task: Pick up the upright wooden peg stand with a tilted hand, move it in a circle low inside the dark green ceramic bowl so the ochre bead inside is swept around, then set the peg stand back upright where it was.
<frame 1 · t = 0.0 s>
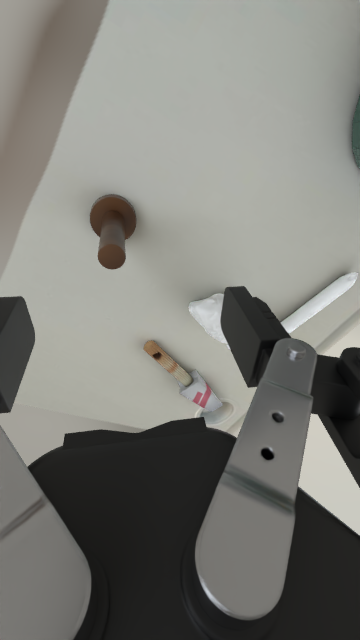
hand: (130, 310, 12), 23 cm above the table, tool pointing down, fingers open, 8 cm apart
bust: (221, 307, 42), on the table
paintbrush: (184, 373, 49), on the table
marker: (300, 308, 44), on the table
wooden peg stand: (113, 217, 32), on the table
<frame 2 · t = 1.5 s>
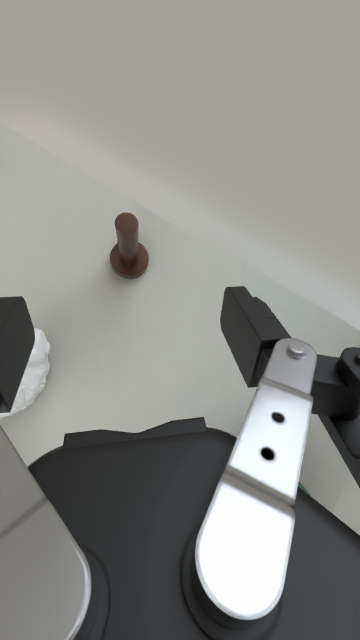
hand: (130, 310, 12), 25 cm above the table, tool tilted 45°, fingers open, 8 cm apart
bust: (23, 378, 34), on the table
wooden peg stand: (129, 260, 38), on the table
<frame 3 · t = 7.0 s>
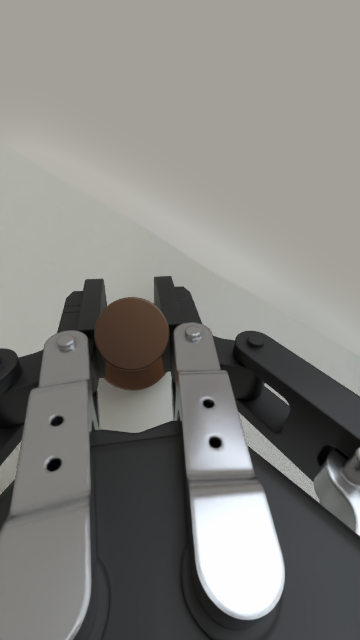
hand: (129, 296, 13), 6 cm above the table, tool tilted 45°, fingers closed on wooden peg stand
wooden peg stand: (134, 351, 19), on the table, touching gripper
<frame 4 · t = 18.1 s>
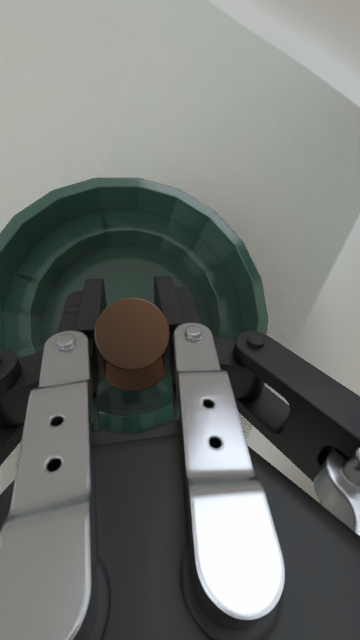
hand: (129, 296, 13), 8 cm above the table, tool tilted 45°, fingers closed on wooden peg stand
wooden peg stand: (135, 351, 19), point 1 cm above the table, touching bead, gripper
bowl: (130, 325, 20), on the table
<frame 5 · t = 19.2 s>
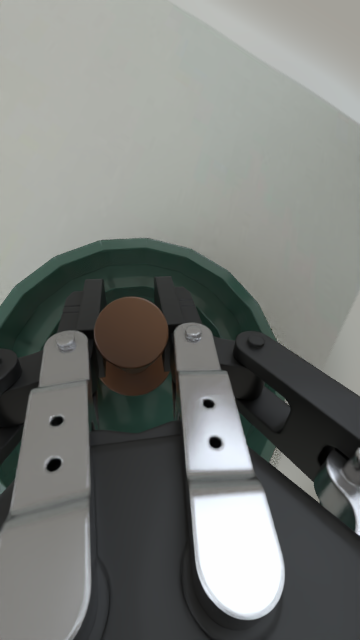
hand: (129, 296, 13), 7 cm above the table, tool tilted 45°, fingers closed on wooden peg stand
wooden peg stand: (134, 356, 19), point 1 cm above the table, touching gripper
bowl: (137, 380, 19), on the table
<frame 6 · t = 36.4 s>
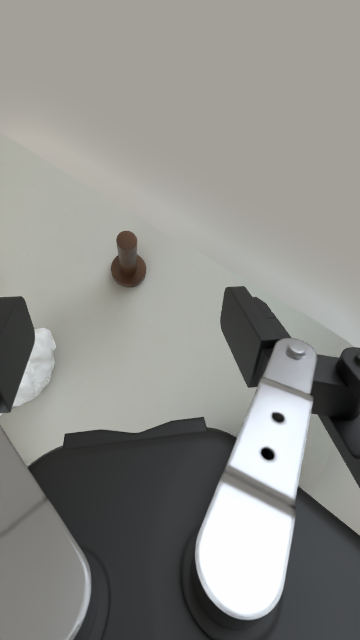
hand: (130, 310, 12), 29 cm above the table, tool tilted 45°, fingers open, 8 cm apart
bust: (30, 373, 38), on the table
wooden peg stand: (128, 271, 42), on the table
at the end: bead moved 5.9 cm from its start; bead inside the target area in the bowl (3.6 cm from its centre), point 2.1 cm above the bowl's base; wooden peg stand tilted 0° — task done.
